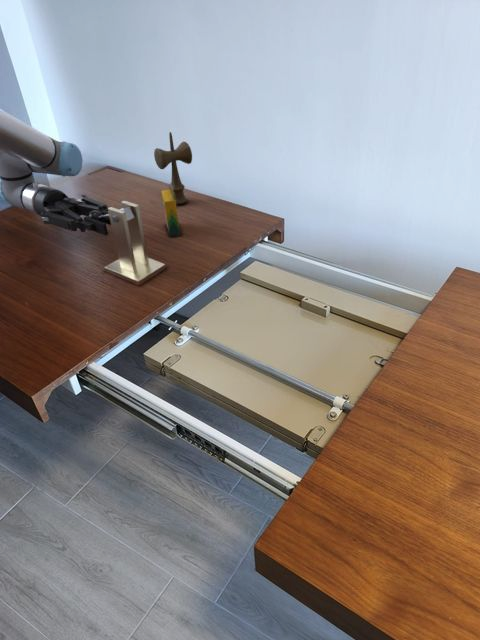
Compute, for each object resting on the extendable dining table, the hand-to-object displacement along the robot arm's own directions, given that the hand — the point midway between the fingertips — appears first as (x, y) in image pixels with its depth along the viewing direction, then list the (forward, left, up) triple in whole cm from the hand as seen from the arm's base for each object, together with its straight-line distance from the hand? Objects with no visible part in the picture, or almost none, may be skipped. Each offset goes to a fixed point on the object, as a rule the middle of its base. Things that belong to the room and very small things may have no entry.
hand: (112, 226), depth 108 cm
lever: (0, 0, 0) cm, 0 cm away
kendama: (+29, +23, -10) cm, 38 cm away
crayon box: (+19, +8, -10) cm, 23 cm away
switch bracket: (+2, -5, -10) cm, 11 cm away
